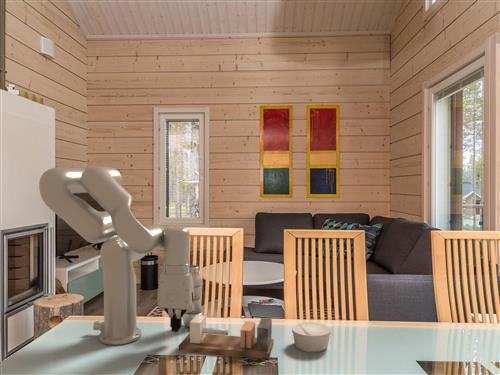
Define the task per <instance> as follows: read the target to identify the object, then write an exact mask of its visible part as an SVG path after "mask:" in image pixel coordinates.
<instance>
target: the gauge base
mask: <svg viewBox="0 0 500 375" xmlns="http://www.w3.org/2000/svg"><path fill="white" fill-rule="evenodd" d="M272 326H273V325H272V318H270V317H269V318H268V317H261V318H260V320H259V323H258V325H257V327H256V337H255V340H254V343H253V345H252V347H251V348H246V350H244V348H240V335H238V336H237V335H219V334H206V336H205V337H204V339H203V340H202V341H201V343H190V332H189V333H188V334H187V335H186V336H185V338H184V339H183V340H182V341H181V342H180V343H179V345H178V352H188V353H198V354H209V355H221V356H222V355H223V356H231V357H242V358H243V357H245V358H253V359H254V358H256V359H266V360H267V359H268V360H269V359H270V357H271V353H272V351H273V348H274V347H273V346H274V345H275V344H274V342H275V341H274V340H275V339H273V338H272V337H273V336H272V330H273V327H272Z"/></svg>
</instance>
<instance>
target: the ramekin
mask: <svg viewBox="0 0 500 375" xmlns="http://www.w3.org/2000/svg"><path fill="white" fill-rule="evenodd" d="M331 331H332V330H331V328H330V327H329V326H328V325H326V324H323V323H320V322H319V323H318V322H310V321H307V322H305V321H304V322H299V323H296V324H294V325H293V326H292V328H291V332H292V336H293V341H294V345H295V347H296V348H298V349H299V350H301V351H303V352H305V353H306V352H307V353H320V352H323V351H325V350H326V349H327V348H328V346H329V341H330V337H331V334H332V332H331Z"/></svg>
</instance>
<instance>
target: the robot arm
mask: <svg viewBox="0 0 500 375" xmlns="http://www.w3.org/2000/svg"><path fill="white" fill-rule="evenodd" d="M122 185H123V176H122V174H121V173H120V172H119V170H117V169H116V168H115V167H112V166H104V165H103V166H101V165H99V166H96V165H94V166H91V167H72V166H71V167H66V166H59V167H51V168H49V169H47V170H46V171H44V172H43V173H42V175H41V176H40V179H39V185H38V186H39V187H38V188H39V193H40V197H41V199H42V201H43V202H44V204H45V205H46V206H47V207H48V208H49V210H51V211H52V212H53V213H54V214H55V215H57V216H58V217H59V218H61V219H62V220H63V221H64V222H65V223H66V224H67V225H69V227H71V229H72V230H74V231H75V232H76V233H77V234H78V235H79V236H81V237H82V238H83V239H84V240H85V241H86V242H88V243H91V244H100V243H103V244H102V245H101V248H100V252H99V254H100V262H101V265H102V271H103V272H102V273H103V321H102V320H101V321H100V320H99V321H98V320H95V321H94V322H93V327H92V329H93V330H94V331H100V333H99V334H98V341H99V342H101V343H102V344H104V345H111V346H112V345H114V346H115V345H116V346H117V345H118V346H119V345H125V344H129V343H130V344H131V343H132V342H133V343H134V342H135V341H137V340H138V339H140V338H141V337H142V334H143V333H142V329H141V328H139V327H137V275H136V271H135V268H134V265H133V263H134V262H136V261H139V260H141V259H143V258H144V257H145V256H146V255H147V254H151V253H153V252H155V251H159V250H162V249H163V263H160V264H159V270H162V272H161V273H160V275H159V280H158V281H159V282H158V288H157V296H156V297H157V299H156V300H157V301H156V302H157V306H158V310H160V311H163V312H165V313H166V314H167V315H168V317H169V320H170V321H169V322H170V325H169V326H170V328H171V332H173V333H174V332H175V333H177V332H178V331H180V330H181V328H182V327H183V326H182V325H183V315H184V314H185V313H189V312H192V311H193V310H194V307H193V303H194V288H193V280H192V275H191V273H189V266H190V240H191V239H190V230H189V229H188V228H187V227H184V226H168V225H162V224H152V225H148V226H144V225H143V224H142V223H141V222H140V221H139V220H138V219H137V218H136V217H135V216H134V215H133V212H132V211H131V205H132V203H133V197H132V195H131V194H130V193H129V192H128V191H127V190H126V189H125V188H124V187H123V186H122ZM82 193H83V194H84V193H85V194H87V193H88V195H90V196H91V197H92V198H93V200H95V202H97V204H99V206H101V208H103V210H104V211H98V210H97V209H95V208H94V207H92V206H91V205H90V204H89V203H88V202H86V200H84V199H82V198H80V197H79V196H77V195H75V194H82ZM176 310H177V311H176Z"/></svg>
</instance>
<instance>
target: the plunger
mask: <svg viewBox="0 0 500 375" xmlns="http://www.w3.org/2000/svg"><path fill="white" fill-rule="evenodd" d="M189 333H190V343H201V341H202V340H203V339H204V337H205V336H206V334H214V335H227V336H229V333H230V332H229V329H228V328H227V329H226V328H217V327H216V328H212V327H207V315H203V316H201V315H196V316H195V317H194V318H193V319H192V320H191V322H190V327H189Z"/></svg>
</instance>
